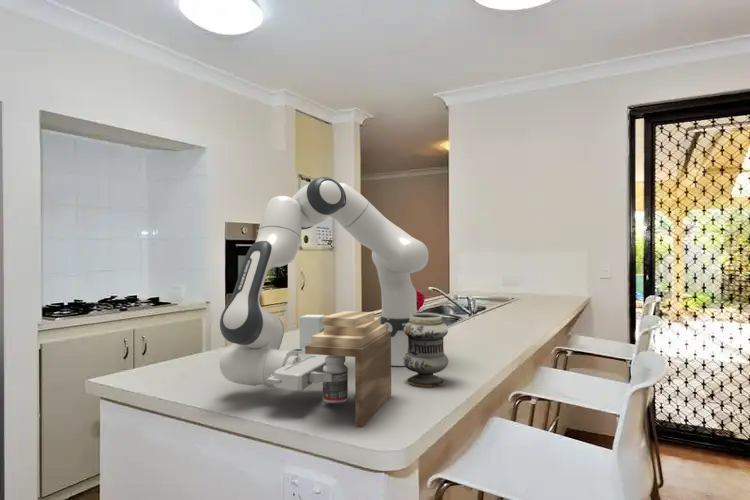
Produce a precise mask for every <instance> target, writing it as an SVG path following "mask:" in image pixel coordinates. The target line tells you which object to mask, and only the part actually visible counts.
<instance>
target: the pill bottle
mask: <svg viewBox="0 0 750 500" xmlns="http://www.w3.org/2000/svg"><path fill="white" fill-rule="evenodd" d="M325 362H326V365H325V366H324V367H323V373H326V372H332V373H334V380H333V381H331V382H322V400H323V401H324V402H327V403H329V404H330V403H332V404H339V403H344V402H346V401H347V400H348V396H349V391H348V390H349V389H348V388H349V387H348V386H349V385H348V381H349V380H348V378H349V377H348V375H349V371H348V370H349V369H348V366H347V365H346V364H345V363H346V356H331V355H326V356H325Z"/></svg>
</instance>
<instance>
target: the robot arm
mask: <svg viewBox="0 0 750 500" xmlns="http://www.w3.org/2000/svg"><path fill="white" fill-rule="evenodd" d="M329 217H330V218H333V219H335V220H336V221H337V222H338V223H339V225H340V226H341V227H342V228H343V229H344V230H345V231H347V232H348V233H349V234H350V235H351V236H352V237H353V238H354V239H355V240H356V241H357V242H359V243H360V245H362V246H364V247H366V248H367V249H368V250H370V251H371V259H372V262H373V263H374V266H375V267H376V271H377V276H378V281H379V286H380V291H381V292H380V295H381V316H380V324H383V325H386V331H391V367H392V366H393V367H396V366H397V367H406V366H405V365H404V363H403V358H404V356H405V355H406V353H408V336H407V335H406V334H405V333H404V326H405V325H406V324H407V323H408V322H409V320H410V315H411V314H415V313H418V312H417V311H418V310H417V309H418V308H417V302H418V301H417V297H418V296H417V291H416V288H415V287H414V285H413V282H412V279H411V276H410V274H413V273H417V272H420V271H421V270H423V269H424V268H426V266H427V264H428V261H429V257H430V256H429V255H430V254H429V250H428V247H427V246H426V244H425V243H424V242H422V241H421V240H419V239H417V238H415V237H413V236H411V235H410V234H409V233H408V232H406V231H405V230H403V229H402V228H401V227H400V226H397V225H396V224H394V223H393V222H392V221H390V220H389V219H388V218H386V217H385V216H384V215H383V214H382V213H381V211H379V210H378V209H377V208H376V207H375V206H374V205H373V203H371V202H370V201H369V200H368V199H367V198H366V197H364V196H363V194H361V193H360V192H359V191H357V190H356V189H354V188H353V187H352V186H350V185H349V184H347V183H345V182H338V181H336V180H335V179H333V178H330V177H327V176H321V177H318V178H314V179H313V180H311V181H310V182H309V183H307V184H305V185H304V186H302V187H301V188H300V189H298V191H297V192H296V193H295V194H294V195H293V196H291V197H290V196H287V195H277V196H274V197H272V198H271V199H270V200H269V201H268V203H267V205H266V206H265V209H264V211H263V214H262V216H261V220H260V224H259V228H258V233H257V237H256V239H255V242H254V243H253V244H252V245H251V246H250V247H249V249H248V250H247V252H246V255H245V257H244V260H243V263H242V266H241V268H240V272H239V275H238V277H237V281H236V282H235V286H234V290H233V291H232V292H233V293H232V294H231V297H230V299H229V300H228V302H227V304H226V306H225V307H224V309H223V311H222V313H221V315H220V319H219V328H220V329H219V330H220V332H221V335H222V336H223V338H224V339H225V340H226V341H228V342H229V343H231V345H230V346H229V347H227V348H226V349H224V350H223V351H222V352H221V355H220V358H219V369H220V372H221V373H220V374H221V375H222V376H223V378H224V379H225V380H227V381H229V382H231V383H233V384H234V383H235V384H238V385H243V386H244V385H245V386H253V387H255V386H260V385H261V386H265V387H267V388H274V389H280V390H286V391H292V392H299V391H303V390H305V389H306V388H308V387H309V386H310V385H312V384H317V383H323V382H331V381H333V380H334V373H332V372H326V373H323V367H324V366H325V365H326V362H325V356H326V355H316V354H305V349H300V348H295V349H280V347H281V345H282V341H283V338H284V334H285V333H284V332H285V328H284V324H283V322H282V321H281V319H280V318H279V317H278V316H276V315H274V314H273V313H271V312H270V311H268V310H266V309H264V308H263V307H262V306H261V302H260V297H261V294H262V291H263V288H264V284H265V281H266V278H267V275H268V272H269V271H270V269H272V268H280V267H284V266H286V265H288V264H290V263H291V262H292V261H293V260H295V257H296V255H297V252H298V250H299V245H300V240H301V239H300V238H301V232H302V230H308V229H311V228H313V227H314V226H316V225H318V224H320V223H323V222H324V221H325V220H326V219H327V218H329Z"/></svg>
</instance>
